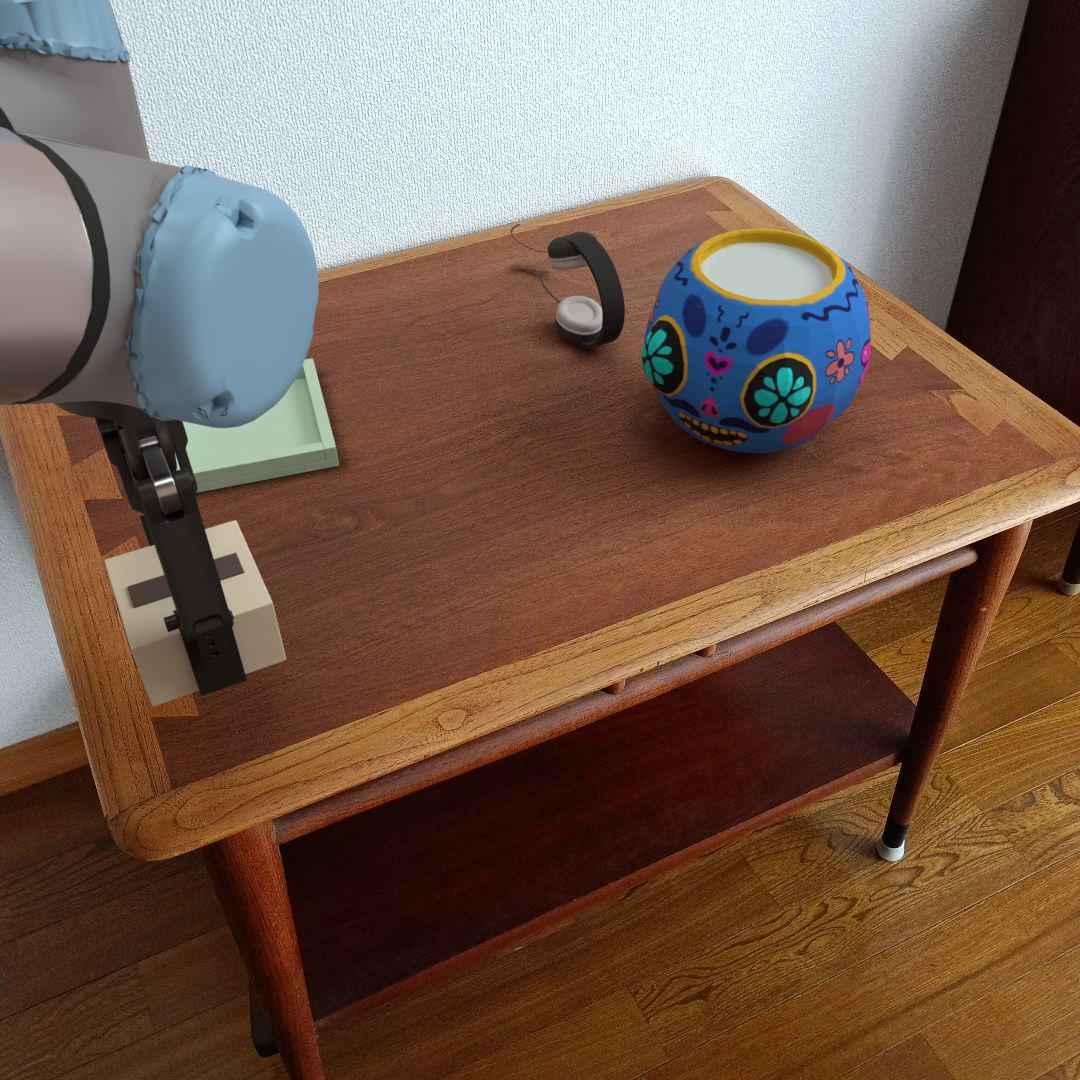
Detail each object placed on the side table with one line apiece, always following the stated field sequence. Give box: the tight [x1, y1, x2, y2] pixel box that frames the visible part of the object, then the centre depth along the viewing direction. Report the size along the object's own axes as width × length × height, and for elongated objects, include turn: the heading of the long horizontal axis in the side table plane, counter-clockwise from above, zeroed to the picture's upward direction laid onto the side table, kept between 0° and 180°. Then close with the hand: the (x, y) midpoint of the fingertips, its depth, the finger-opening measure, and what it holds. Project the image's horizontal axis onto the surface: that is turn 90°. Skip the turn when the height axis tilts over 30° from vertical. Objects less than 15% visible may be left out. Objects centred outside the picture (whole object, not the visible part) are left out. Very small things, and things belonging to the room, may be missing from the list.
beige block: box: [103, 519, 287, 707], centre depth 66 cm, size 8×8×5 cm
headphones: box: [510, 223, 626, 350], centre depth 102 cm, size 10×4×20 cm
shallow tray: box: [175, 357, 340, 494], centre depth 92 cm, size 13×13×2 cm
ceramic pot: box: [641, 227, 872, 454], centre depth 88 cm, size 18×18×15 cm
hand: (204, 634), depth 68 cm, fingers closed on beige block, 8 cm apart
